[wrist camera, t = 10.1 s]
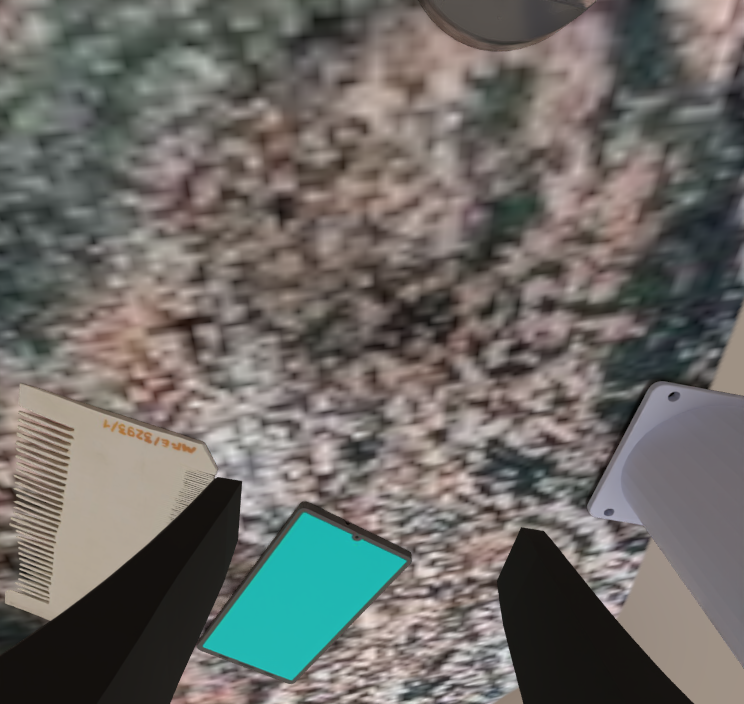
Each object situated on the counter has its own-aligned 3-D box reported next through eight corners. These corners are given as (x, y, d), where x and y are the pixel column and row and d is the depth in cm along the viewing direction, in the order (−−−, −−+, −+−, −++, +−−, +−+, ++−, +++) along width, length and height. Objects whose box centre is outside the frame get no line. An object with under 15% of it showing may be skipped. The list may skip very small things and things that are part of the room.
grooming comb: (25, 374, 21) (13, 382, 20) (227, 444, 22) (222, 453, 21) (8, 600, 28) (-2, 611, 27) (161, 641, 29) (155, 653, 29)
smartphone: (195, 648, 28) (301, 506, 22) (200, 635, 29) (304, 494, 23) (293, 686, 29) (415, 560, 24) (295, 672, 30) (414, 548, 25)
